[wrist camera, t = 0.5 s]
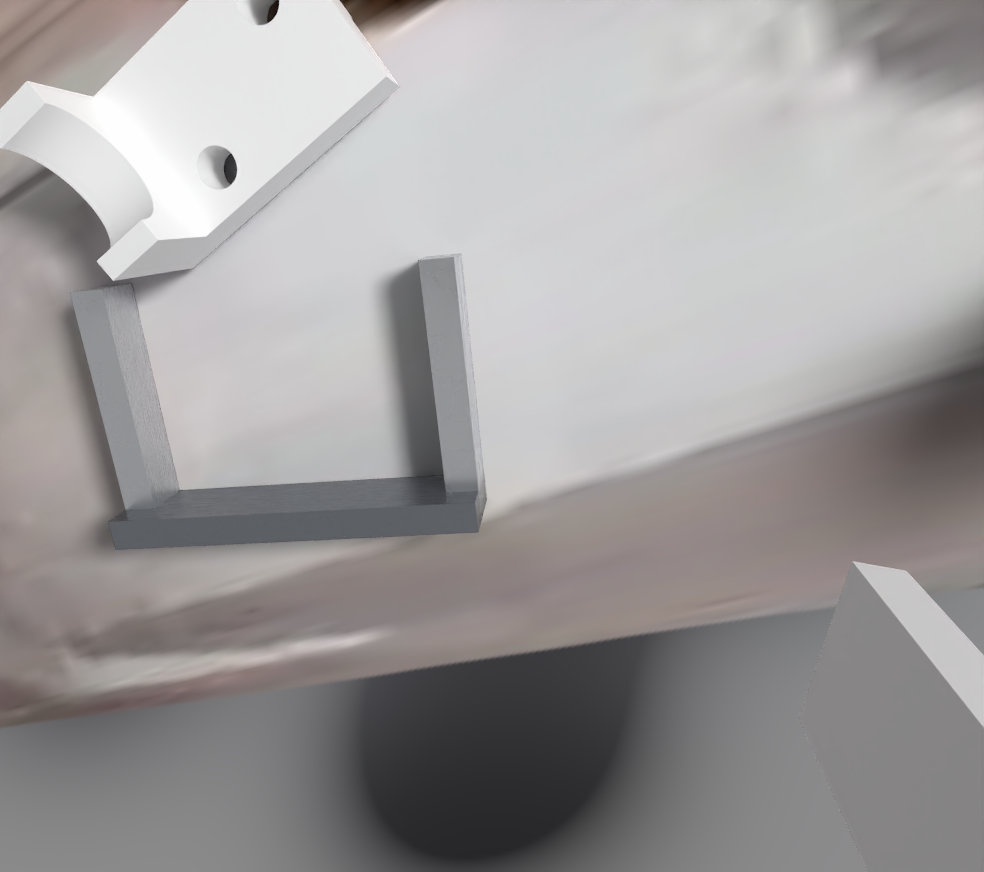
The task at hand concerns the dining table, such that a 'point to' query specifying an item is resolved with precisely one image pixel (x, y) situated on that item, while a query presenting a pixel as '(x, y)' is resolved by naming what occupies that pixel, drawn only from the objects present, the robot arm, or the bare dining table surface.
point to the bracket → (202, 124)
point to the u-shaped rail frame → (288, 507)
